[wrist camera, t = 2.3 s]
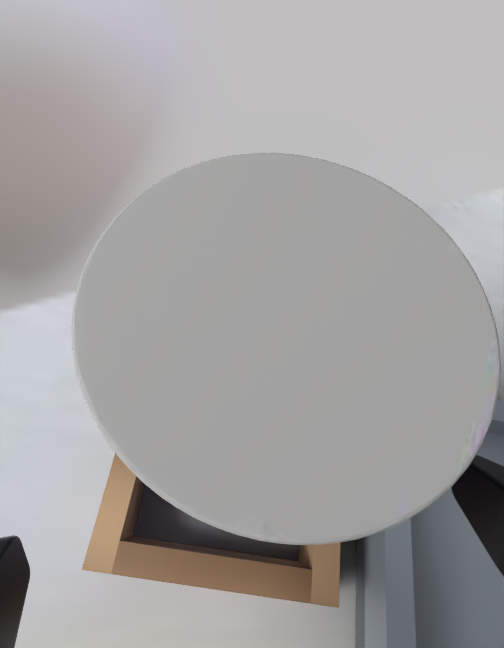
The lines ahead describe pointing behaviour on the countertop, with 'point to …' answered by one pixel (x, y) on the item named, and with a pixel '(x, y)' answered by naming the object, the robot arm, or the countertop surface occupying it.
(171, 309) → the container
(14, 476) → the countertop surface
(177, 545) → the holder
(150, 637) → the countertop surface
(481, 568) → the tray
